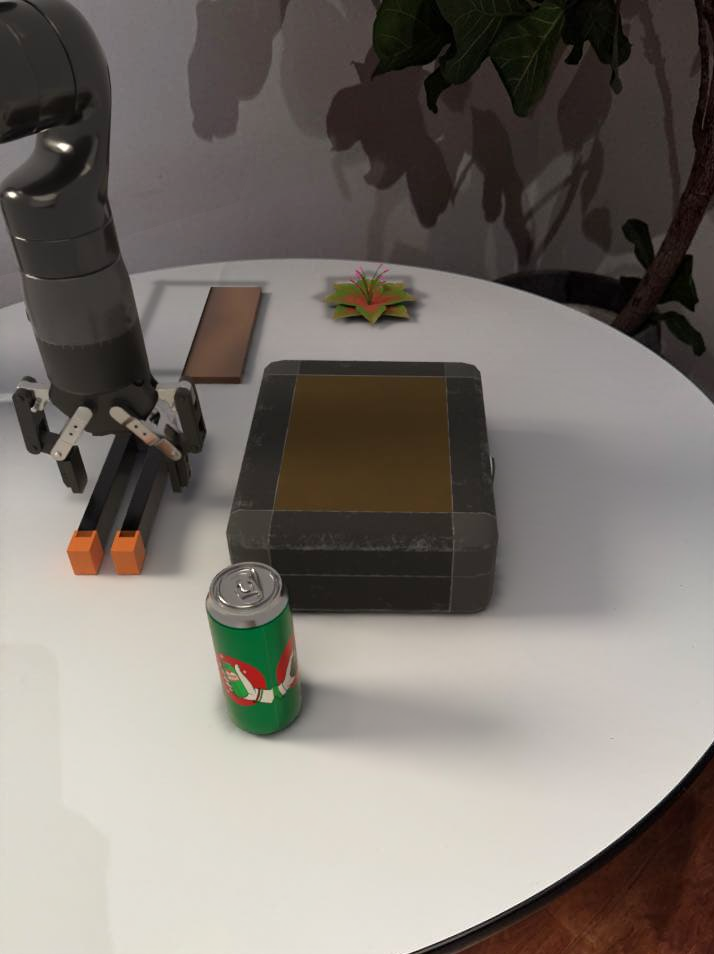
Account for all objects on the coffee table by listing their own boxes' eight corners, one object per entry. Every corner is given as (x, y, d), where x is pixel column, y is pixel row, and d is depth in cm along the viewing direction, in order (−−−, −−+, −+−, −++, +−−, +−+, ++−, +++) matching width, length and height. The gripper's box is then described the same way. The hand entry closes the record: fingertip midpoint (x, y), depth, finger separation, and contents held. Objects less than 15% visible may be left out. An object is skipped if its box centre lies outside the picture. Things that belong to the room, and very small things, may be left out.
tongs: (139, 574, 69) (133, 551, 68) (74, 574, 69) (66, 550, 68) (181, 436, 83) (177, 413, 81) (127, 436, 83) (121, 413, 81)
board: (124, 383, 90) (122, 376, 89) (162, 292, 105) (160, 286, 104) (240, 383, 90) (239, 376, 89) (262, 293, 105) (261, 286, 104)
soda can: (285, 669, 62) (269, 547, 54) (314, 720, 59) (301, 599, 51) (218, 695, 61) (191, 573, 53) (243, 750, 57) (219, 629, 49)
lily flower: (319, 283, 107) (317, 247, 104) (416, 281, 107) (417, 245, 104) (318, 332, 98) (315, 294, 95) (424, 329, 99) (425, 292, 96)
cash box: (500, 618, 66) (509, 544, 61) (233, 615, 66) (220, 540, 61) (481, 427, 85) (487, 357, 80) (272, 424, 85) (264, 354, 79)
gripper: (190, 292, 67) (219, 460, 78) (4, 292, 67) (59, 461, 78) (172, 341, 61) (206, 516, 72) (-31, 342, 61) (34, 516, 72)
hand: (130, 487), depth 75 cm, fingers open, 8 cm apart
